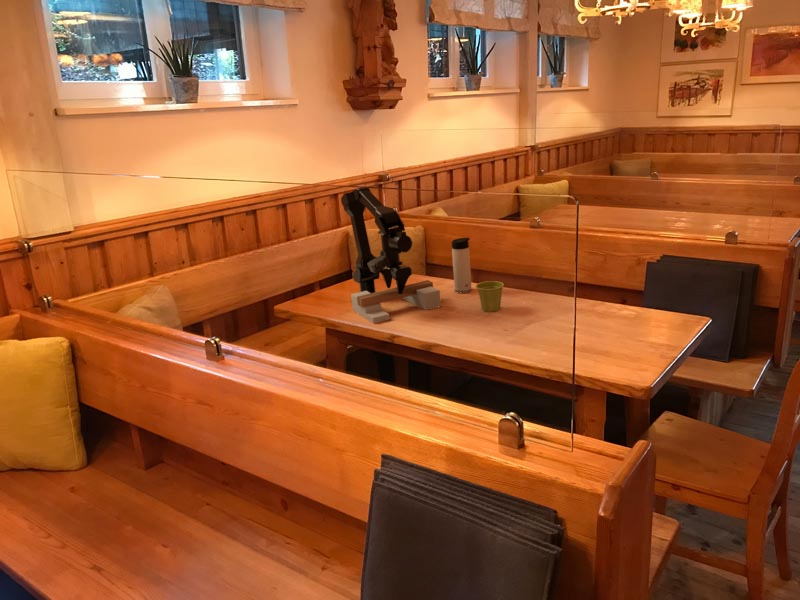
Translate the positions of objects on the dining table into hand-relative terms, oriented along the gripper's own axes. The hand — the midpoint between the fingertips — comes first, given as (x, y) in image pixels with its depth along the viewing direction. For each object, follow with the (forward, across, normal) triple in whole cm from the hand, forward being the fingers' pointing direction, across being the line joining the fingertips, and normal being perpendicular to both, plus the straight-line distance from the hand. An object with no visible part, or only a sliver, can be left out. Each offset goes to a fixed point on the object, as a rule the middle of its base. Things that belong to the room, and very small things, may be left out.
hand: (394, 290), depth 237 cm
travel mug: (+7, -1, +28) cm, 29 cm away
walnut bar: (+2, 0, 0) cm, 3 cm away
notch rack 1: (+6, 0, -10) cm, 12 cm away
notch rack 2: (+6, 0, +10) cm, 12 cm away
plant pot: (+7, +23, +24) cm, 34 cm away
